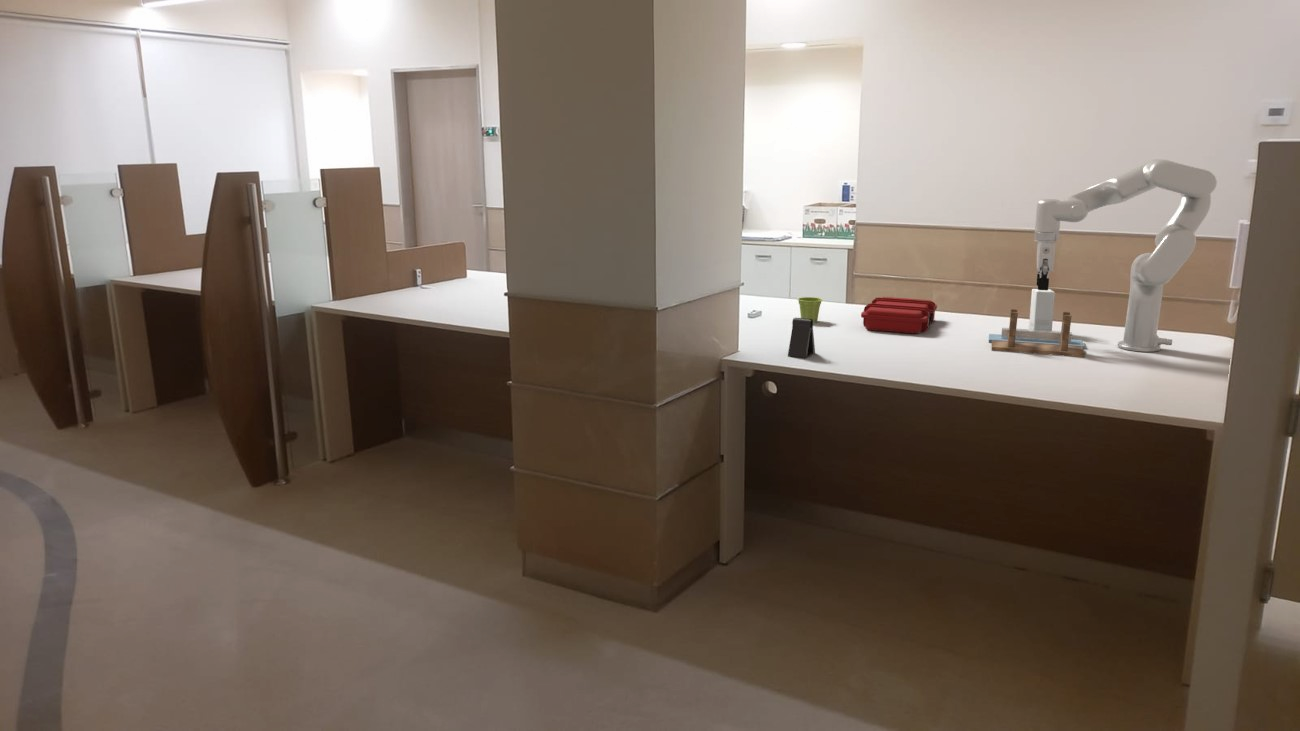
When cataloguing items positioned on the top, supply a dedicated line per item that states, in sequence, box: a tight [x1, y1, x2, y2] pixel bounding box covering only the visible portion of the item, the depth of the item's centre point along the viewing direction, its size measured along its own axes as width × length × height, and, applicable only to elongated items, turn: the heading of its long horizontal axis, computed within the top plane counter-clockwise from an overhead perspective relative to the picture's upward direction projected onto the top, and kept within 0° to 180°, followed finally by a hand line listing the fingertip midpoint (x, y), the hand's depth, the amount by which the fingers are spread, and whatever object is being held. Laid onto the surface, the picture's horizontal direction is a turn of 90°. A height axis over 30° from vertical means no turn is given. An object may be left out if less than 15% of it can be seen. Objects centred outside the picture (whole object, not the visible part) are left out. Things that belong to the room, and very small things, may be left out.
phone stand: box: [787, 317, 816, 359], centre depth 291 cm, size 9×6×12 cm, turn 149°
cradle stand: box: [991, 308, 1086, 358], centre depth 296 cm, size 28×10×13 cm, turn 69°
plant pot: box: [797, 296, 823, 323], centre depth 344 cm, size 9×9×9 cm
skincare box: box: [1028, 288, 1056, 331], centre depth 322 cm, size 8×7×16 cm
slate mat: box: [988, 333, 1086, 350], centre depth 308 cm, size 30×10×1 cm, turn 69°
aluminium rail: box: [1000, 327, 1073, 343], centre depth 308 cm, size 22×3×3 cm, turn 69°
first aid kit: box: [860, 296, 938, 334], centre depth 337 cm, size 32×23×9 cm
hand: (1042, 287), depth 303 cm, fingers open, 9 cm apart
